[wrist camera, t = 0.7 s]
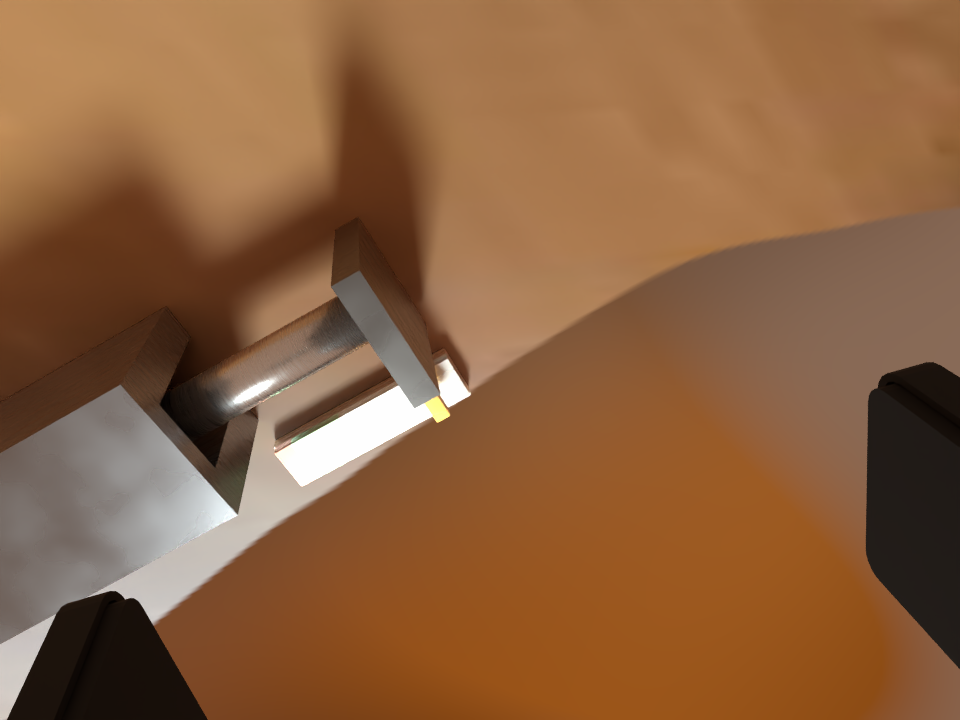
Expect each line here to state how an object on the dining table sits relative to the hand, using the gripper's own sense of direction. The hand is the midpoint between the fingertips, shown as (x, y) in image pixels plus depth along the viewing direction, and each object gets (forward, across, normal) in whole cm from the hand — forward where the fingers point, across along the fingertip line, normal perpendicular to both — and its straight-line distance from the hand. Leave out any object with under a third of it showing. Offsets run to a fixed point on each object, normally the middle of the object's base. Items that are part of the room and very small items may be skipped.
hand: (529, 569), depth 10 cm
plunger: (+21, +6, +6) cm, 22 cm away
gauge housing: (+22, +10, +7) cm, 25 cm away
